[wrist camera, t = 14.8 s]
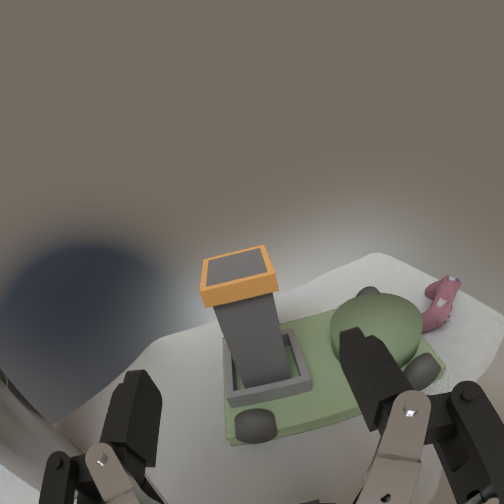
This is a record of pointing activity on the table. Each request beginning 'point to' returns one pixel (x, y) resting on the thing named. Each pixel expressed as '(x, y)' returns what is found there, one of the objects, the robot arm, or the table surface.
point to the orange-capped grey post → (247, 313)
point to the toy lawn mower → (325, 369)
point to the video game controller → (440, 302)
